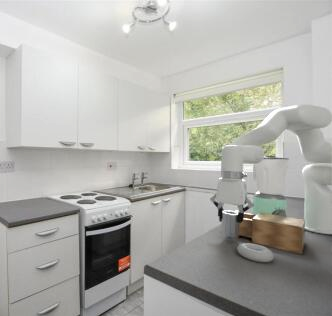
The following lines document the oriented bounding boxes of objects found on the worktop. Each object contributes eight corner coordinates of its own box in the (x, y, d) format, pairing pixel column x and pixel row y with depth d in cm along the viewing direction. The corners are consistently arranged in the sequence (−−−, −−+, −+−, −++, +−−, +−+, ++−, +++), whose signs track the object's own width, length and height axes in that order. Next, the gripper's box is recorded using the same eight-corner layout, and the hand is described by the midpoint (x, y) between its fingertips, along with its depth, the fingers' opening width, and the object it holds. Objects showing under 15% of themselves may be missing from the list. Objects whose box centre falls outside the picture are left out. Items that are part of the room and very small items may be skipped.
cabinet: (251, 242, 88) (252, 218, 88) (259, 233, 98) (259, 212, 98) (301, 254, 78) (302, 227, 77) (304, 243, 88) (305, 219, 87)
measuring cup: (219, 234, 89) (220, 212, 89) (224, 231, 93) (224, 210, 93) (236, 238, 84) (237, 215, 84) (240, 235, 89) (241, 212, 88)
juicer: (298, 234, 98) (300, 156, 98) (267, 233, 99) (269, 155, 98) (266, 221, 117) (267, 156, 117) (240, 221, 118) (242, 156, 117)
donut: (279, 267, 68) (266, 253, 78) (279, 256, 68) (266, 243, 78) (242, 261, 71) (233, 248, 81) (242, 250, 71) (233, 239, 81)
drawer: (216, 231, 98) (216, 213, 98) (225, 225, 107) (226, 209, 107) (265, 242, 85) (266, 222, 85) (271, 234, 95) (271, 216, 95)
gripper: (260, 177, 85) (258, 223, 85) (211, 174, 97) (210, 214, 97) (255, 178, 80) (254, 227, 80) (205, 174, 92) (204, 217, 92)
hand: (230, 220), depth 89 cm, fingers closed on measuring cup, 6 cm apart
